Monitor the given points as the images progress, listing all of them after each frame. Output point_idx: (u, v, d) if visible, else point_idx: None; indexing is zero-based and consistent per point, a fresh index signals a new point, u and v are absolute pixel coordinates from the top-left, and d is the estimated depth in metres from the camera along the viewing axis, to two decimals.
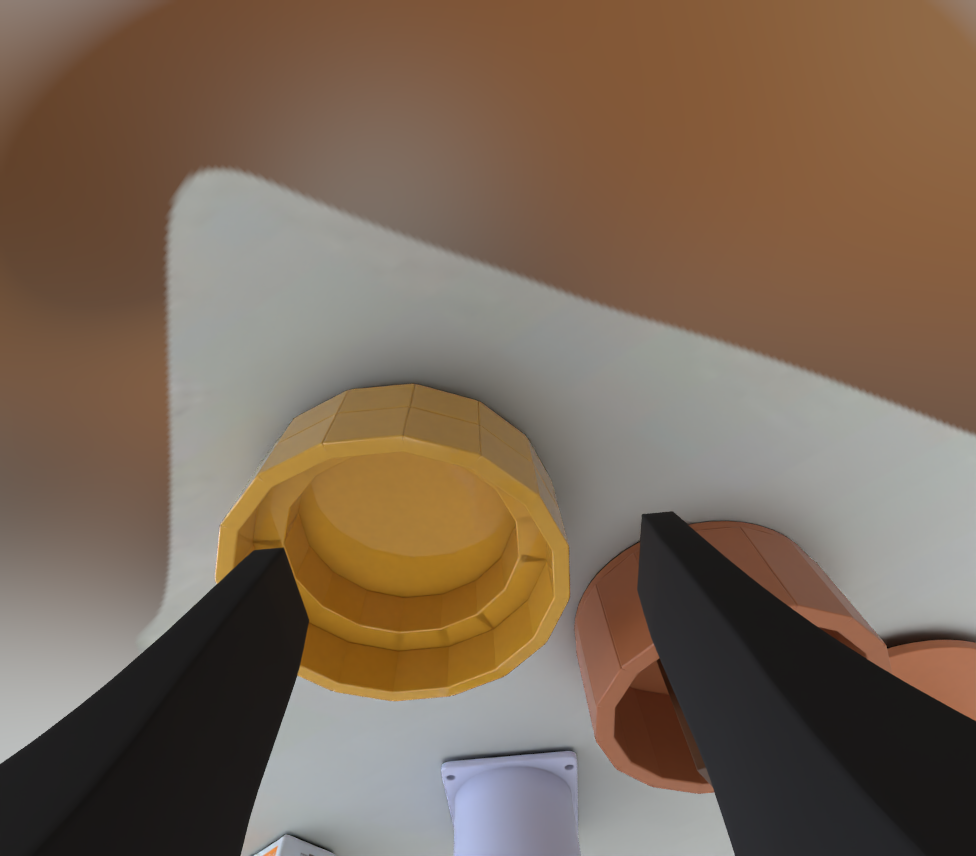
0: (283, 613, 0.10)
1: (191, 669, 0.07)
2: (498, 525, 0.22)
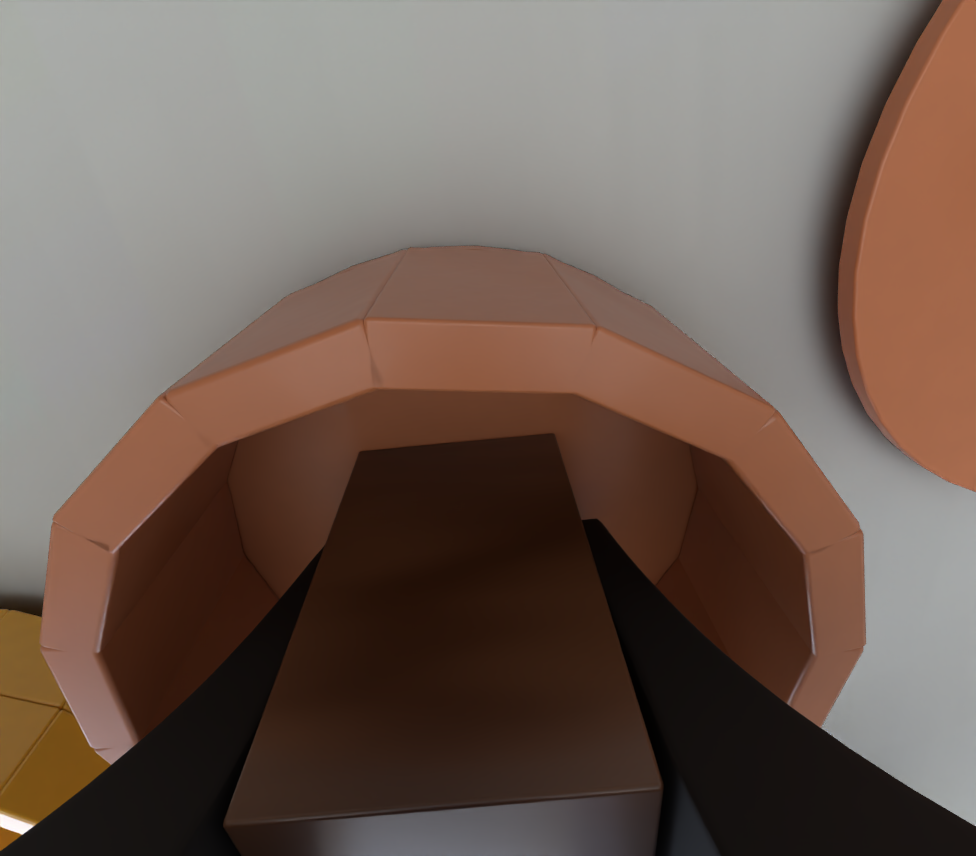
0: None
1: None
2: None
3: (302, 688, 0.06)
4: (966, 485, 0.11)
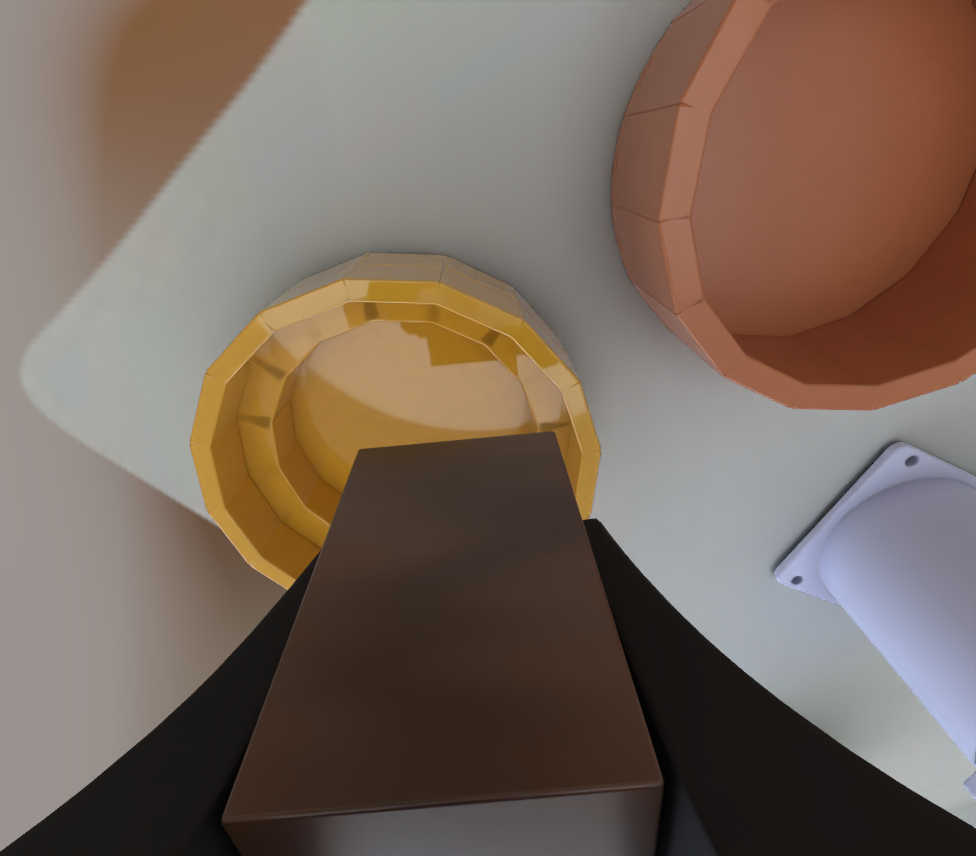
0: None
1: None
2: (472, 343, 0.18)
3: (301, 685, 0.06)
4: None
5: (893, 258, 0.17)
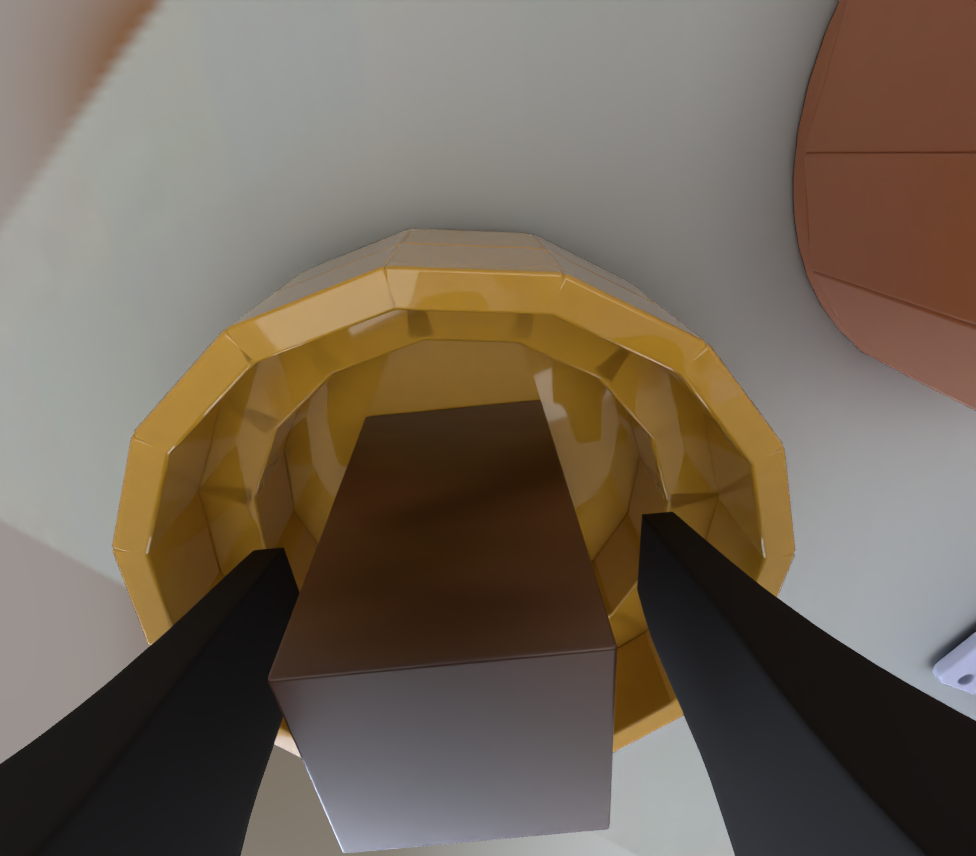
0: (283, 613, 0.10)
1: (192, 669, 0.07)
2: (560, 369, 0.12)
3: (325, 590, 0.07)
4: None
5: None
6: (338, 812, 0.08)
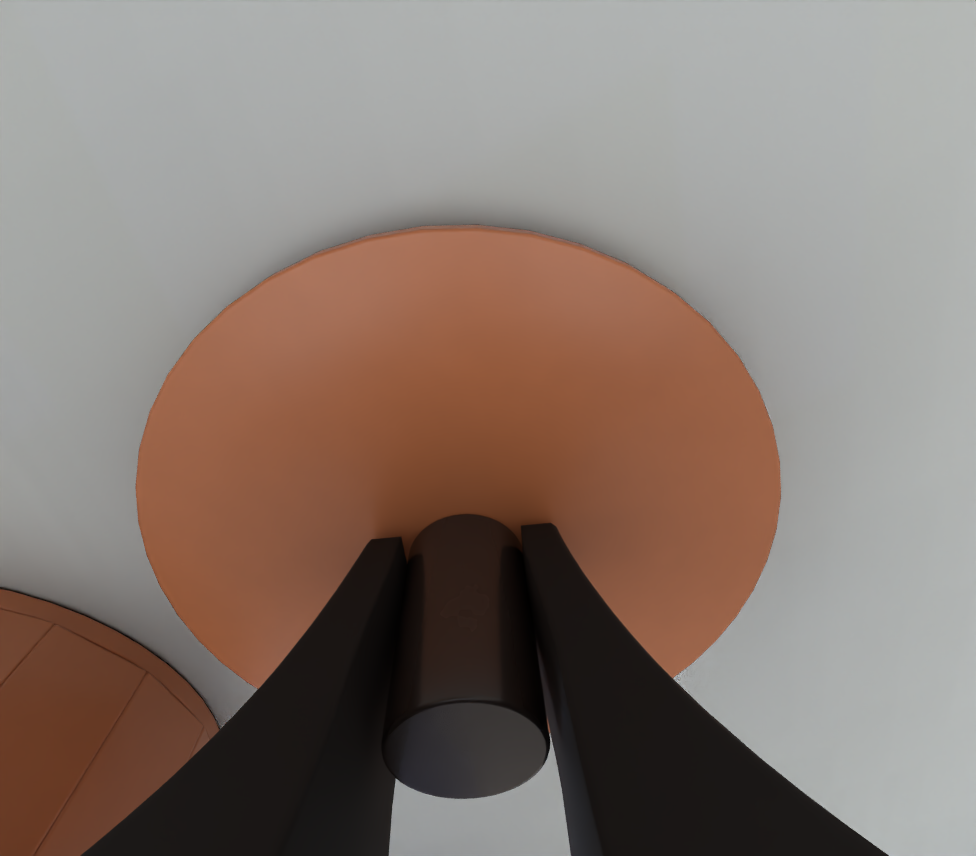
0: None
1: (357, 654, 0.07)
2: None
3: None
4: None
5: None
6: None
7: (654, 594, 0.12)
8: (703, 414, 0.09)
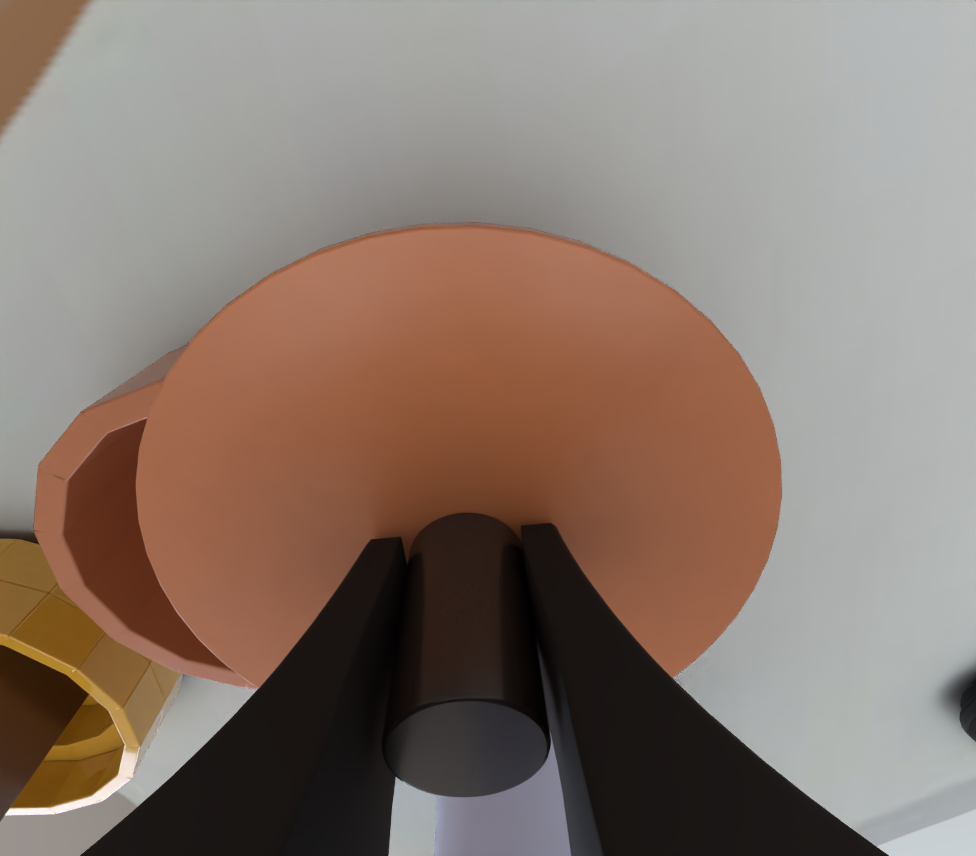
0: None
1: (357, 654, 0.07)
2: None
3: None
4: None
5: None
6: None
7: (654, 592, 0.12)
8: (704, 412, 0.09)
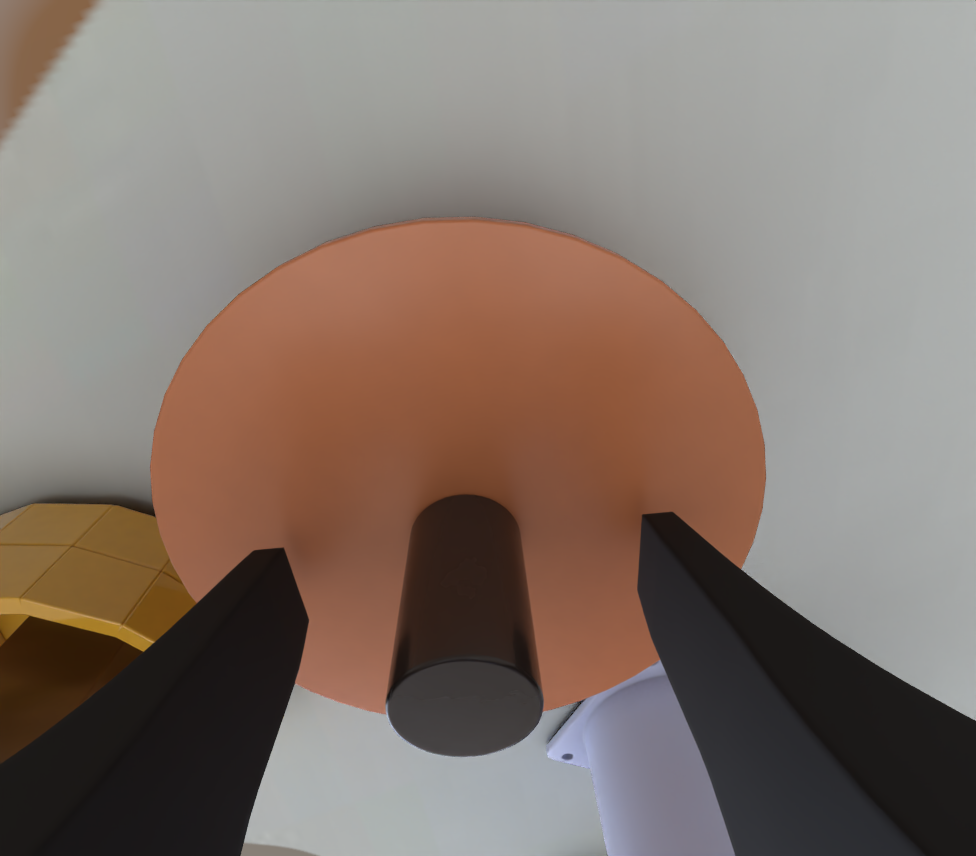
0: (283, 613, 0.10)
1: (191, 669, 0.07)
2: None
3: None
4: (383, 713, 0.14)
5: None
6: None
7: None
8: (691, 398, 0.10)
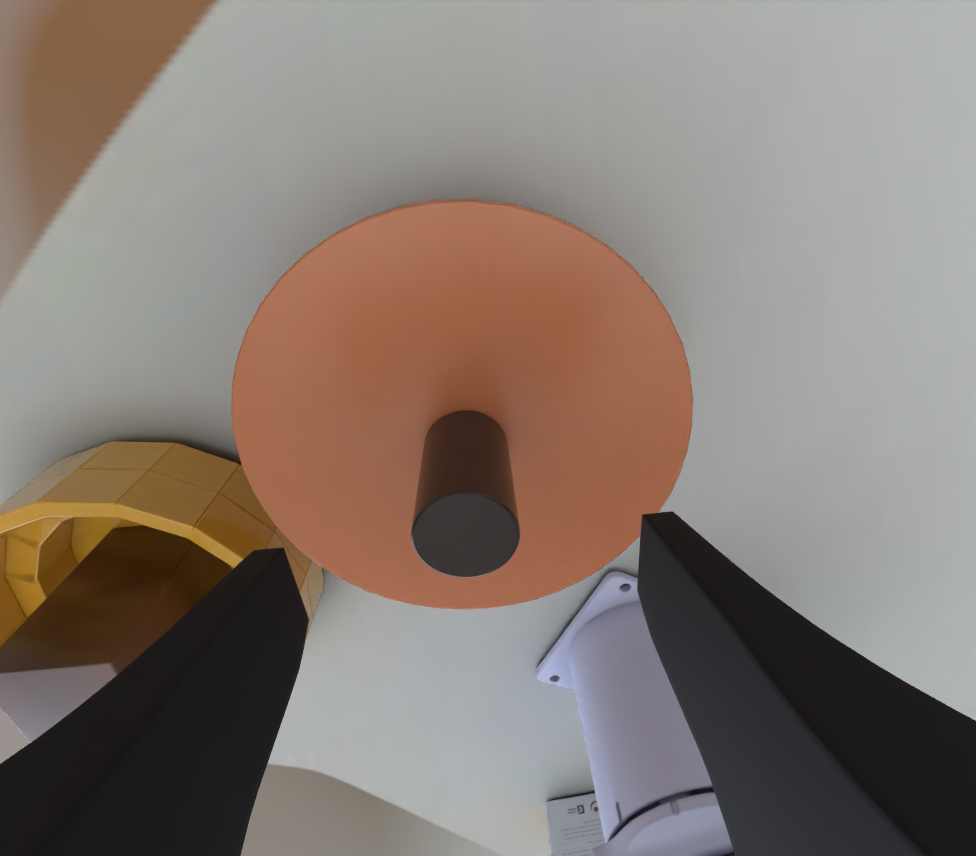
0: (283, 613, 0.10)
1: (191, 669, 0.07)
2: None
3: (20, 636, 0.17)
4: (400, 601, 0.18)
5: None
6: (28, 734, 0.17)
7: (604, 477, 0.16)
8: (632, 334, 0.13)
